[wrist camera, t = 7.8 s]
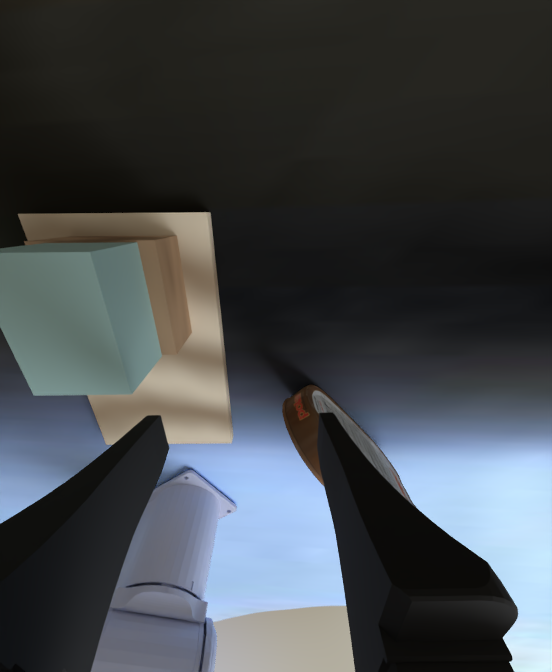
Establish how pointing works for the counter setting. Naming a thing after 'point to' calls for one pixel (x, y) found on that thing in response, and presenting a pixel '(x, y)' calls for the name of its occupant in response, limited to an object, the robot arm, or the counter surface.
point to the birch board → (195, 355)
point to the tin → (304, 433)
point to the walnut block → (155, 283)
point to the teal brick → (78, 317)
